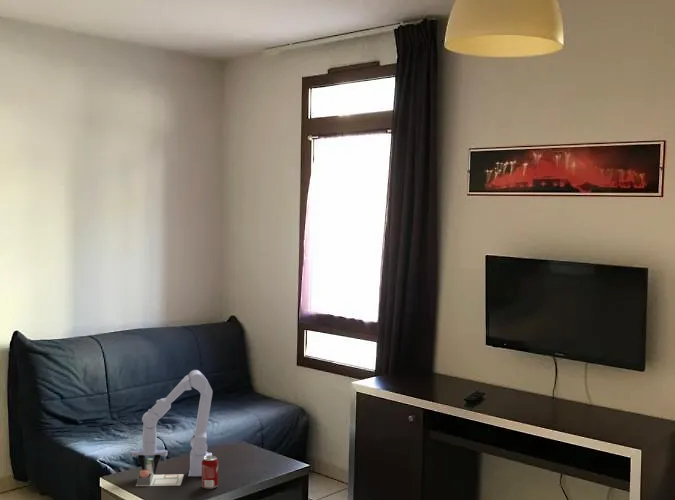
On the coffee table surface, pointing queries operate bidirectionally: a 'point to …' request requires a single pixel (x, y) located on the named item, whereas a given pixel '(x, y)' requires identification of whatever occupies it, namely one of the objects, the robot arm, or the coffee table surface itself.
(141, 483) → the button base
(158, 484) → the sheet
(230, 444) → the coffee table surface
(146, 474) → the button
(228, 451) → the coffee table surface
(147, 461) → the marker
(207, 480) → the soda can
